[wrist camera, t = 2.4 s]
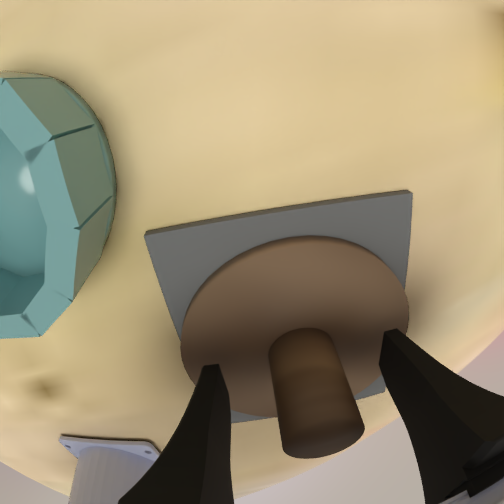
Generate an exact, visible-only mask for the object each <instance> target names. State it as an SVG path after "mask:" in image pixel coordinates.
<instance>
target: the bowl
mask: <svg viewBox="0 0 504 504" xmlns="http://www.w3.org/2000/svg"><path fill="white" fill-rule="evenodd" d="M115 205H116V177H115V169H114V163H113V158H112V154H111V150H110V147H109V144H108V140H107V138H106V136H105V133H104V131H103V129H102V126H101V124H100V123H99V121H98V119H97V117H96V116H95V114H94V112H93V111H92V110H91V108H90V107H89V106H88V104H87V103H86V102H85V101H84V99H83V98H82V97H81V96H79V95H78V94H77V93H76V92H75V91H74V90H73V89H72V88H70V87H69V86H67V85H66V84H64V83H63V82H61V81H59V80H57V79H54V78H52V77H49V76H45V75H41V74H32V73H19V72H11V71H0V339H4V338H26V337H40V336H42V335H43V334H44V333H45V332H46V331H47V329H48V328H49V327H50V326H51V325H52V324H53V323H54V322H55V320H56V319H57V318H58V317H59V316H60V315H61V314H62V313H63V312H64V311H65V310H66V308H67V307H68V306H69V305H70V304H71V303H72V302H73V300H74V298H75V297H76V295H77V293H78V292H79V290H80V289H81V287H82V285H83V284H84V282H85V281H86V279H87V277H88V276H89V274H90V273H91V271H92V270H93V268H94V267H95V265H96V263H97V262H98V260H99V259H100V257H101V255H102V250H103V246H104V245H105V242H106V240H107V238H108V235H109V233H110V230H111V226H112V222H113V219H114V212H115Z"/></svg>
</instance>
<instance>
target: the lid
mask: <svg viewBox="0 0 504 504" xmlns="http://www.w3.org/2000/svg"><path fill="white" fill-rule="evenodd" d="M408 321H409V306H408V301H407V297H406V294H405V291H404V289H403V287H402V285H401V283H400V282H399V280H398V279H397V277H396V276H395V274H394V273H393V272H392V271H391V270H390V268H389V267H388V266H387V265H386V264H385V263H384V262H383V261H382V260H381V259H380V258H379V257H378V256H377V255H375V254H374V253H373V252H371V251H370V250H368V249H366V248H364V247H362V246H360V245H358V244H356V243H354V242H350V241H347V240H344V239H341V238H335V237H329V236H313V235H306V236H295V237H287V238H283V239H278V240H274V241H270V242H267V243H264V244H261V245H258V246H256V247H253V248H251V249H249V250H247V251H245V252H243V253H241V254H239V255H237V256H235V257H234V258H232V259H231V260H229V261H228V262H226V263H224V264H223V265H222V266H221V267H219V268H218V269H217V270H216V271H215V272H213V273H212V274H211V275H210V276H209V277H208V278H207V279H206V280H205V282H204V283H203V284H202V285H201V286H200V287H199V289H198V290H197V292H196V293H195V295H194V296H193V298H192V299H191V302H190V304H189V306H188V308H187V311H186V314H185V318H184V322H183V327H182V334H181V346H180V348H181V356H182V361H183V364H184V367H185V370H186V372H187V373H188V375H189V377H190V379H191V380H192V381H193V383H194V384H195V385H196V384H197V382H198V379H199V376H200V373H201V369H202V367H203V366H204V365H212V364H219V366H220V369H221V372H222V375H223V378H224V381H225V383H226V386H227V389H228V392H229V398H230V409H231V410H234V411H237V412H240V413H244V414H248V415H253V416H261V417H278V422H279V428H280V435H281V441H282V447H283V451H284V452H285V453H286V454H287V455H289V456H292V457H295V458H304V459H309V458H319V457H324V456H328V455H331V454H334V453H337V452H339V451H342V450H344V449H346V448H347V447H349V446H351V445H352V444H354V443H355V442H356V441H357V440H358V439H359V438H360V437H361V436H362V435H363V433H364V430H365V426H364V423H363V421H362V418H361V415H360V412H359V409H358V407H357V404H356V401H355V398H354V396H355V395H356V394H358V393H360V392H361V391H362V390H364V389H365V388H367V387H368V386H369V385H371V384H372V383H373V382H374V381H375V380H376V379H377V378H378V377H379V376H380V375H381V374H382V373H381V370H380V367H379V358H380V353H381V347H382V341H383V334H384V331H388V330H392V329H396V328H397V329H398V330H400V331H401V332H402V333H403V334H405V335H406V332H407V328H408Z"/></svg>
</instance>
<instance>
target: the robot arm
mask: <svg viewBox="0 0 504 504" xmlns="http://www.w3.org/2000/svg"><path fill="white" fill-rule="evenodd" d="M379 367H380V370H381V373H382V376H383V379H384V382H385V384H386V386H387V389H388V391H389V393H390V395H391V397H392V399H393V401H394V403H395V405H396V407H397V409H398V411H399V413H400V415H401V417H402V419H403V421H404V423H405V425H406V428H407V430H408V433H409V436H410V439H411V442H412V445H413V448H414V452H415V456H416V459H417V463H418V467H419V471H420V476H421V480H422V485H423V491H424V497H425V504H504V397H503V396H500V395H498V394H495V393H493V392H490V391H488V390H486V389H483V388H481V387H479V386H477V385H475V384H473V383H471V382H469V381H467V380H466V379H464V378H462V377H460V376H459V375H457V374H456V373H454V372H452V371H451V370H449V369H448V368H447V367H445V366H444V365H442V364H441V363H439V362H438V361H437V360H435V359H434V358H433V357H432V356H430V355H429V354H428V353H426V352H425V351H424V350H423V349H421V348H420V347H419V346H418V345H417V344H415V343H414V342H413V341H412V340H411V339H409V338H408V337H407V336H406V335H405V334H403V333H402V332H401V331H400V330H398V329H397V328H396V329H392V330H388V331H384V334H383V341H382V347H381V353H380V358H379ZM59 442H60V443H61V444H62V445H63V446H64V447H65V448H66V449H67V450H69V451H70V452H71V453H72V454H73V455H74V456H75V457H76V458H77V459H78V462H77V466H76V470H75V474H74V479H73V483H72V488H71V493H70V498H69V503H68V504H234V499H233V491H232V481H231V471H230V445H231V409H230V398H229V392H228V389H227V386H226V383H225V381H224V378H223V375H222V372H221V369H220V366H219V364H212V365H204V366H203V367H202V369H201V373H200V376H199V379H198V382H197V384H196V387H195V390H194V392H193V395H192V397H191V400H190V402H189V404H188V407H187V409H186V411H185V413H184V415H183V417H182V419H181V421H180V423H179V425H178V427H177V429H176V430H175V432H174V434H173V436H172V437H171V439H170V441H169V442H168V444H167V445H166V447H165V448H164V450H163V451H162V453H161V454H160V453H159V452H158V451H157V450H156V448H155V447H154V446H153V445H152V444H151V443H149V442H145V441H115V440H98V439H85V438H75V437H66V436H60V438H59Z"/></svg>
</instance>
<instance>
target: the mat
mask: <svg viewBox="0 0 504 504" xmlns="http://www.w3.org/2000/svg"><path fill="white" fill-rule="evenodd" d="M412 197H413V193H412V192H410V191H408V190H403V191H395V192H387V193H379V194H371V195H363V196H356V197H349V198H341V199H334V200H327V201H320V202H313V203H307V204H300V205H294V206H287V207H281V208H274V209H268V210H262V211H256V212H250V213H244V214H238V215H232V216H226V217H221V218H215V219H209V220H204V221H198V222H193V223H187V224H182V225H177V226H171V227H166V228H161V229H156V230H151V231H146V233H145V235H144V238H145V241H146V245H147V248H148V251H149V254H150V257H151V260H152V263H153V266H154V269H155V272H156V275H157V278H158V281H159V284H160V287H161V290H162V293H163V296H164V298H165V301H166V304H167V307H168V310H169V312H170V315H171V318H172V320H173V323H174V326H175V328H176V331H177V334H178V336H179V339H180V341H181V334H182V327H183V322H184V318H185V314H186V311H187V308H188V306H189V304H190V302H191V299H192V298H193V296H194V295H195V293H196V292H197V290H198V289H199V287H200V286H201V285H202V284H203V283H204V282H205V280H206V279H207V278H208V277H209V276H210V275H211V274H212V273H213V272H215V271H216V270H217V269H218V268H219V267H221V266H222V265H223V264H224V263H226V262H228V261H229V260H231V259H232V258H234V257H235V256H237V255H239V254H241V253H243V252H245V251H247V250H249V249H251V248H253V247H256V246H258V245H261V244H264V243H267V242H270V241H274V240H278V239H283V238H287V237H295V236H306V235H313V236H329V237H335V238H341V239H344V240H347V241H350V242H354V243H356V244H358V245H360V246H362V247H364V248H366V249H368V250H370V251H371V252H373V253H374V254H375V255H377V256H378V257H379V258H380V259H381V260H382V261H383V262H384V263H385V264H386V265H387V266H388V267H389V268H390V270H391V271H392V272H393V273H394V274H395V276H396V277H397V279H398V280H399V282H400V283H401V285H402V287H403V289H404V290H405V282H406V274H407V265H408V256H409V245H410V233H411V218H412ZM385 388H386V384H385V382H384V379H383V376H382V374H381V375H380V376H379V377H378V378H377V379H376V380H375V381H374V382H373V383H372V384H371V385H369V386H368V387H367V388H365V389H364V390H362V391H361V392H360V393H358V394H356V395H355V396H354V398H355V400H358V399H361V398H365V397H369V396H372V395H376V394H379V393H383V392H385ZM267 418H273V417H261V416H253V415H248V414H244V413H240V412H237V411H234V410H231V423H237V422H245V421H253V420H260V419H267Z"/></svg>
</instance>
